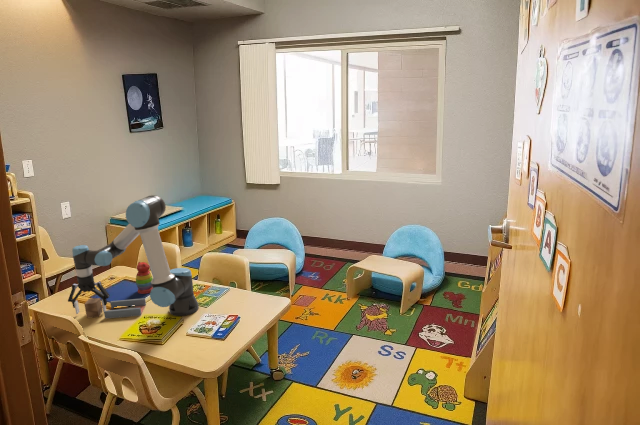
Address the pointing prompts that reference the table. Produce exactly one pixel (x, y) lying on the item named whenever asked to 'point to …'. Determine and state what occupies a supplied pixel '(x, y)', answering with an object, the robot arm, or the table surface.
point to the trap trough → (134, 311)
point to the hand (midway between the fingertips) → (91, 311)
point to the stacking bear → (143, 278)
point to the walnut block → (93, 307)
